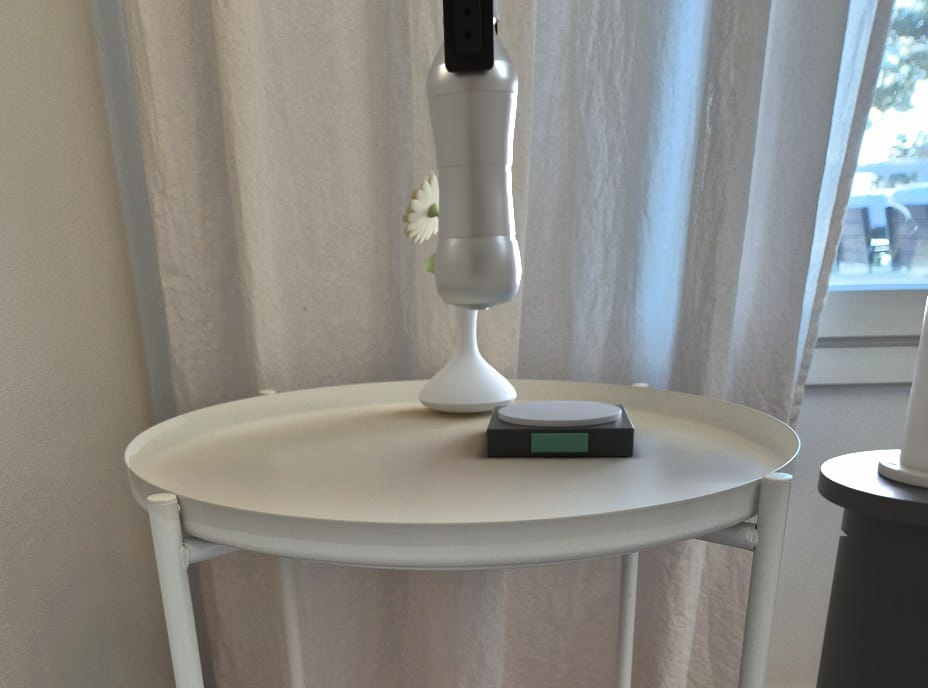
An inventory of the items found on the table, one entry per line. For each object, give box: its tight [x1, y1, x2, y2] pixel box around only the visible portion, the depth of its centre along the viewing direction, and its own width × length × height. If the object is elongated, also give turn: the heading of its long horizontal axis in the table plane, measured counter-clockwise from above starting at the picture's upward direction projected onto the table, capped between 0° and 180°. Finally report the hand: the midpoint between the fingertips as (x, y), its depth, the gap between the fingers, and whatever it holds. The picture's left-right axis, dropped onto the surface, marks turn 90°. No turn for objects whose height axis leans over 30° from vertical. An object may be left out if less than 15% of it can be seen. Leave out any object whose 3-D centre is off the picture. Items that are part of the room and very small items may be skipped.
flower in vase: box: [401, 170, 518, 414], centre depth 98 cm, size 13×11×25 cm
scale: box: [486, 399, 635, 458], centre depth 85 cm, size 13×14×3 cm
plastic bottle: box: [425, 0, 522, 311], centre depth 63 cm, size 6×7×20 cm
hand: (473, 77), depth 61 cm, fingers closed on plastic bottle, 6 cm apart
